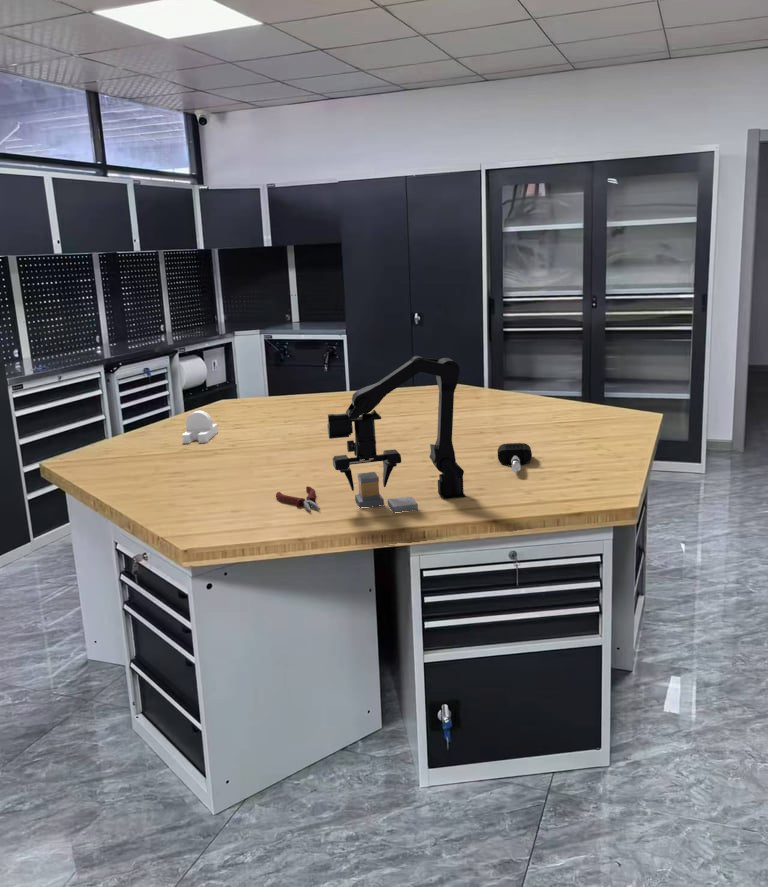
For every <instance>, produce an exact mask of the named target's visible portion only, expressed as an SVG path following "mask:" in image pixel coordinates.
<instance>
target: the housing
mask: <svg viewBox="0 0 768 887" xmlns="http://www.w3.org/2000/svg"><path fill="white" fill-rule="evenodd" d="M357 479H358V481H357V483H358V494H359V496H360V498H361V499H362V501H368V500H377V499H380V495H381V494H380V495H379V493H380V485H379V481H380V477H379V476H378V475H377V473H376V472H375V471H370V472H362V473H361V472H360V473H357Z"/></svg>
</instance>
